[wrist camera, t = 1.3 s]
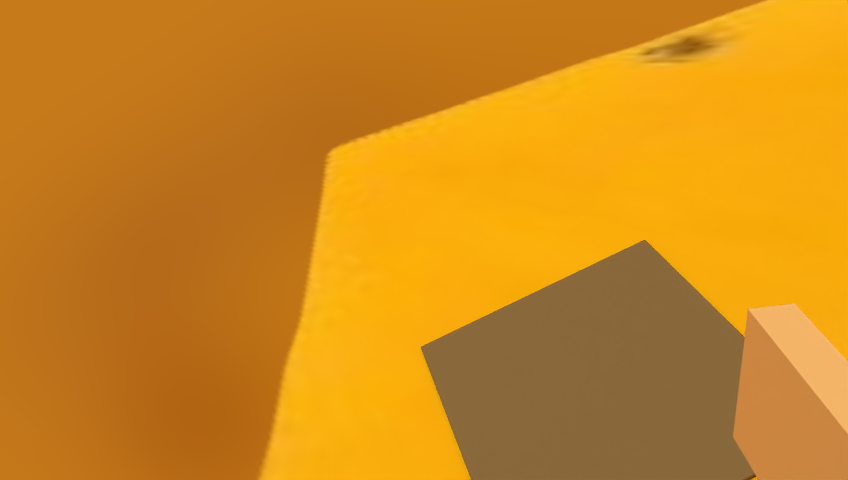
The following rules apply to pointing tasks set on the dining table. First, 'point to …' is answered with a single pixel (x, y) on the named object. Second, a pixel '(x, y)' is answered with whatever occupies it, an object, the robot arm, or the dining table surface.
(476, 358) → the placemat
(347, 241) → the dining table surface
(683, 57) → the dining table surface
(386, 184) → the dining table surface
